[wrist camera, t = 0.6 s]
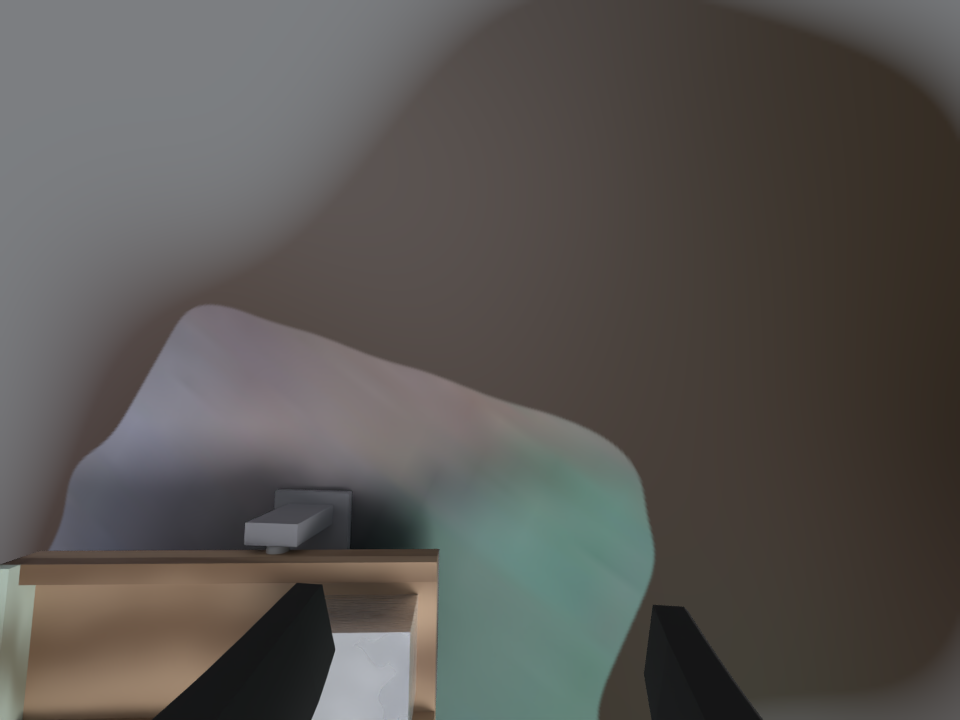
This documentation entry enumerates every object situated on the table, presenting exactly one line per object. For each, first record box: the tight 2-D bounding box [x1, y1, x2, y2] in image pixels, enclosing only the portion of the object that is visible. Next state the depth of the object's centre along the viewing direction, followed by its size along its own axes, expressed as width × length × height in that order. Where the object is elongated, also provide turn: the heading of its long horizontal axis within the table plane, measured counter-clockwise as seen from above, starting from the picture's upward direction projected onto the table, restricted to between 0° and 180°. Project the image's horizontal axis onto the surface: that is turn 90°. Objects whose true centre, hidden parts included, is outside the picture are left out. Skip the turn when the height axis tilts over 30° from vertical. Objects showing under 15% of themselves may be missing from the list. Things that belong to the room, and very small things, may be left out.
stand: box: [244, 489, 352, 550], centre depth 27 cm, size 14×5×6 cm, turn 179°
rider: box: [311, 594, 418, 720], centre depth 23 cm, size 5×6×4 cm
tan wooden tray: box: [0, 546, 439, 720], centre depth 25 cm, size 10×22×4 cm, turn 89°
